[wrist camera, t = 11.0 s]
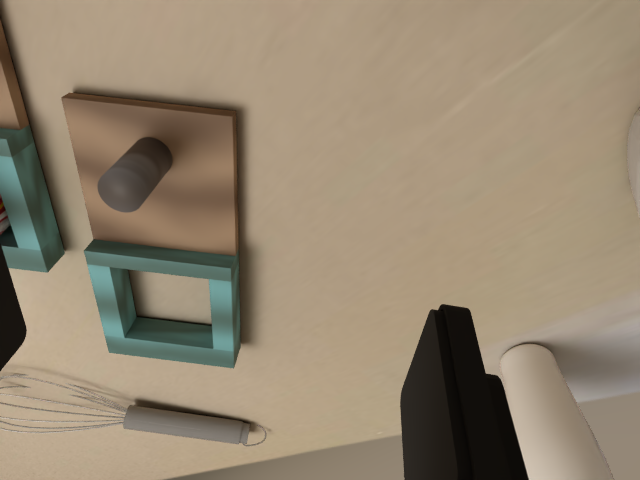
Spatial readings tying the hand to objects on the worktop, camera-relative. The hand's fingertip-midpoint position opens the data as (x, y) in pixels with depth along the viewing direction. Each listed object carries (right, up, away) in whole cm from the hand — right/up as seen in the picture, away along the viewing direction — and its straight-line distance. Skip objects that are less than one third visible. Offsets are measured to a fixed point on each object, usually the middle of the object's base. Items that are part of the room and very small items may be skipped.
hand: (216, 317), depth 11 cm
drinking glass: (+23, -10, +39) cm, 47 cm away
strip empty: (-12, +2, +34) cm, 36 cm away
